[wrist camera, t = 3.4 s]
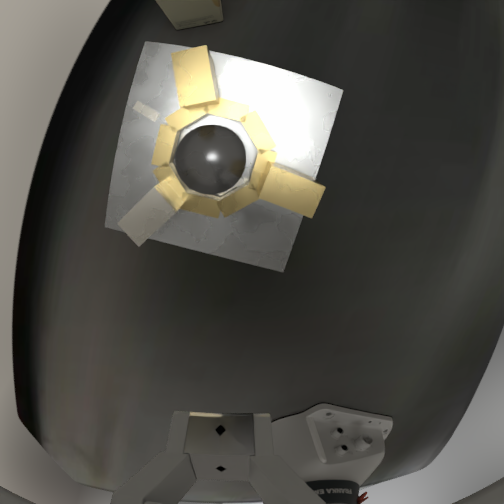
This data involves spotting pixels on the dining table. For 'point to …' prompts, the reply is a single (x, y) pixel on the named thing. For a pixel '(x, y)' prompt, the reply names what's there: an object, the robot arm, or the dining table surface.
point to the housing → (222, 152)
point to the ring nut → (181, 197)
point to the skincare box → (191, 12)
